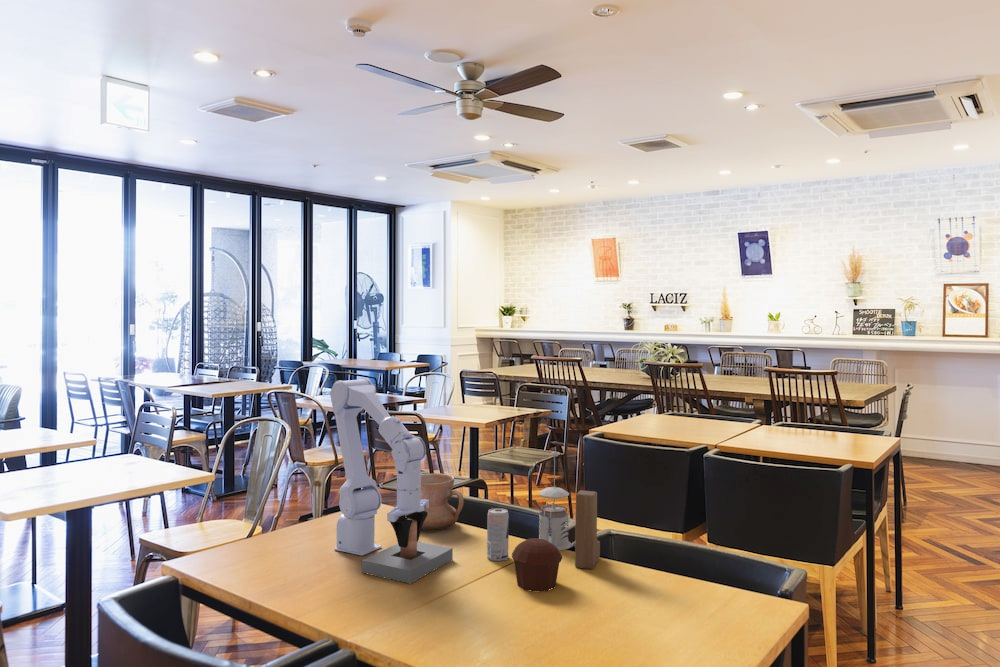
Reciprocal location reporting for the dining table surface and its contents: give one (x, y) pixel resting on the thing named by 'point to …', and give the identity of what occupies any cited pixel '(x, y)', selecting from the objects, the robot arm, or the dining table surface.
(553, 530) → the french press
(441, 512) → the ceramic jug
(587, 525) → the wooden block
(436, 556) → the grey flat holed block
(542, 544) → the muffin
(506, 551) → the energy drink
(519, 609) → the dining table surface
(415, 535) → the terracotta peg
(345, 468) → the robot arm
